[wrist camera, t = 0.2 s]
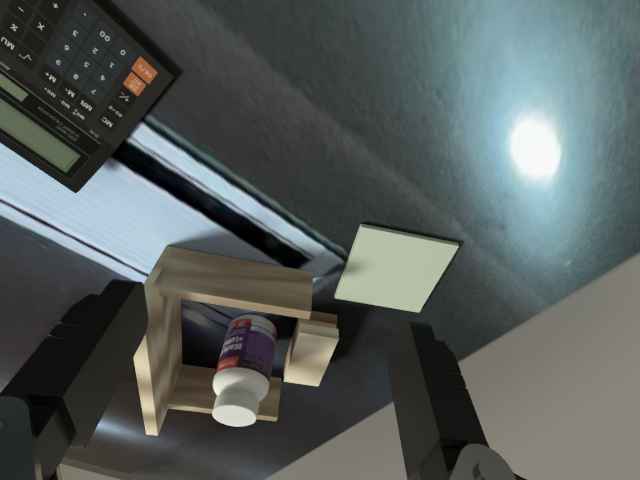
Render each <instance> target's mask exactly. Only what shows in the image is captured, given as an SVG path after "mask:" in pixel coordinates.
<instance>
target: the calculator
mask: <svg viewBox="0 0 640 480" xmlns="http://www.w3.org/2000/svg"><path fill="white" fill-rule="evenodd" d="M175 77H176V74H175V73H174V72H173V71H172V70H170V69H169V68H168V67H167V66H166V65H165V64H164V63H163V62H162V61H161V60H160V59H159V58H158V57H157V56H156V55H155V54H154V53H153V52H152V51H151V50H150V49H149V48H148V47H147V46H145V45H144V44H143V43H142V42H141V41H140V40H139V39H138V38H137V37H136V36H135V35H134V34H133V33H132V32H131V31H130V30H129V29H128V28H127V27H126V26H125V25H124V24H123V23H122V22H120V21H119V20H118V19H117V18H116V17H115V16H114V15H113V14H112V13H111V12H110V11H109V10H108V9H107V8H106V7H105V6H104V5H103V4H102V3H101V2H100V1H99V0H0V143H2V144H3V145H5V146H6V147H8V148H9V149H11V150H12V151H14V152H15V153H17V154H18V155H20V156H21V157H23V158H24V159H26V160H27V161H28V162H30V163H31V164H33V165H34V166H36V167H37V168H39V169H40V170H42V171H43V172H45V173H46V174H48V175H49V176H51V177H52V178H54V179H55V180H57V181H58V182H60V183H61V184H63V185H64V186H66V187H67V188H68V189H70V190H71V191H73V192H74V193H77V192H79V190H80V189H81V188H82V187H83V186H84V185H85V184H86V183H87V182H88V181H89V179H90V178H91V177H92V176H93V175H94V174H95V173H96V172H97V171H98V170H99V168H100V167H101V166H102V165H103V164H104V163H105V162H106V161H107V160H108V159H109V157H110V156H111V155H112V154H113V153H114V152H115V151H116V150H117V148H118V147H119V146H120V145H121V143H122V142H123V141H124V140H125V138H126V137H127V136H128V135H129V133H130V132H131V131H132V130H133V129H134V127H135V126H136V125H137V124H138V122H139V121H140V120H141V119H142V117H143V116H144V115H145V114H146V112H147V111H148V110H149V109H150V107H151V106H152V105H153V104H154V103H155V101H156V100H157V99H158V98H159V96H160V95H161V94H162V93H163V91H164V90H165V89H166V88H167V86H168V85H169V84H170V83H171V81H172V80H173V79H174V78H175Z"/></svg>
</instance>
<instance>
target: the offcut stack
mask: <svg viewBox="0 0 640 480" xmlns="http://www.w3.org/2000/svg"><path fill="white" fill-rule="evenodd" d="M336 324H337V315H334V314H328V313H322V312H316V311H311V314H310V317H309V320H308V319H302V318H298V319H297V322H296V326H295V329H294V332H293V336H292V339H291V342H290V346H289V349H288V352H287V356H286V362H285V368H284V382H290V383H297V384H304V385H311V386H319V384H320V381H321V379H322V377H323V375H324V372H325V370H326V368H327V365H328V363H329V361H330V358H331V356H332V354H333V351H334V349H335V347H336V345H337V342H338V340H339V329H336Z"/></svg>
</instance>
